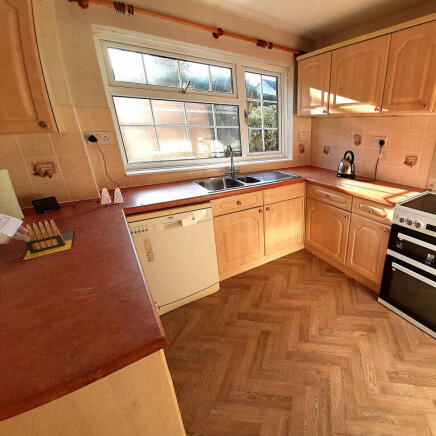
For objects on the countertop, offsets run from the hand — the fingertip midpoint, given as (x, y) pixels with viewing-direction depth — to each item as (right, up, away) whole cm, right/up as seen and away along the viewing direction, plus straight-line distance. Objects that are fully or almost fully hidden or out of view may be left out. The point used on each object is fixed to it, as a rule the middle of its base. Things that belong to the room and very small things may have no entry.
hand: (31, 237), depth 97 cm
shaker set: (-14, +17, +63) cm, 67 cm away
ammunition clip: (+3, -5, +4) cm, 7 cm away
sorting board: (0, -5, +9) cm, 10 cm away
